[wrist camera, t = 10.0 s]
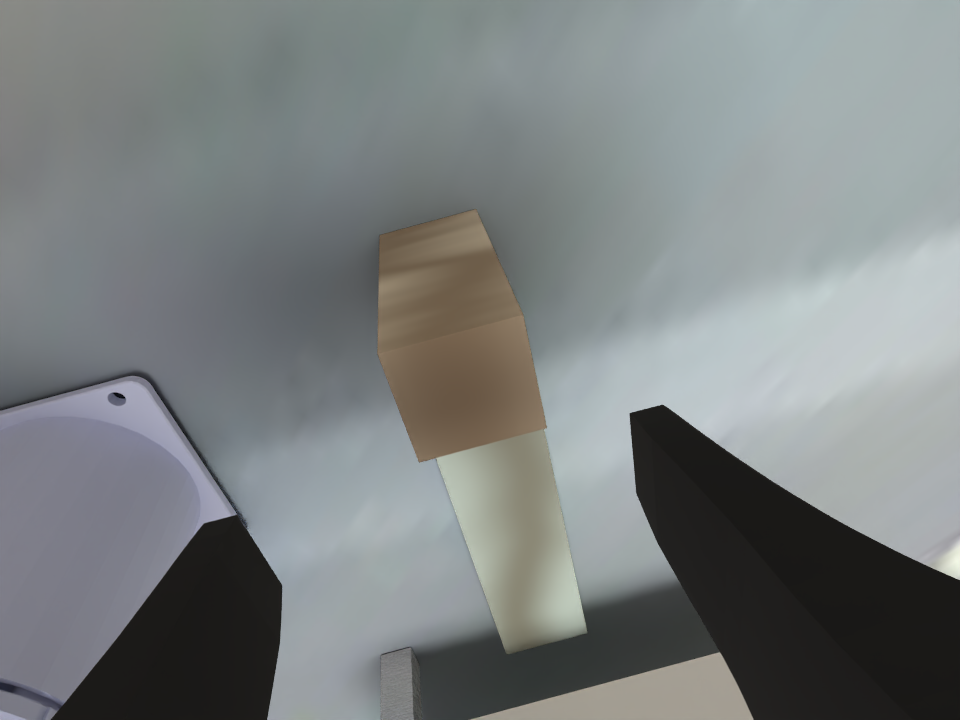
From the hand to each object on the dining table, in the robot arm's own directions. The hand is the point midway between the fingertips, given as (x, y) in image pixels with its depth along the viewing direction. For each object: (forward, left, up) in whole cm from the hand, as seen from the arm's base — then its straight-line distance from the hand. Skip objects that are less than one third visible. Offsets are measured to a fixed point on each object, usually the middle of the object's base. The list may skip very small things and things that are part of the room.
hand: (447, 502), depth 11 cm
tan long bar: (+1, -8, -9) cm, 13 cm away
